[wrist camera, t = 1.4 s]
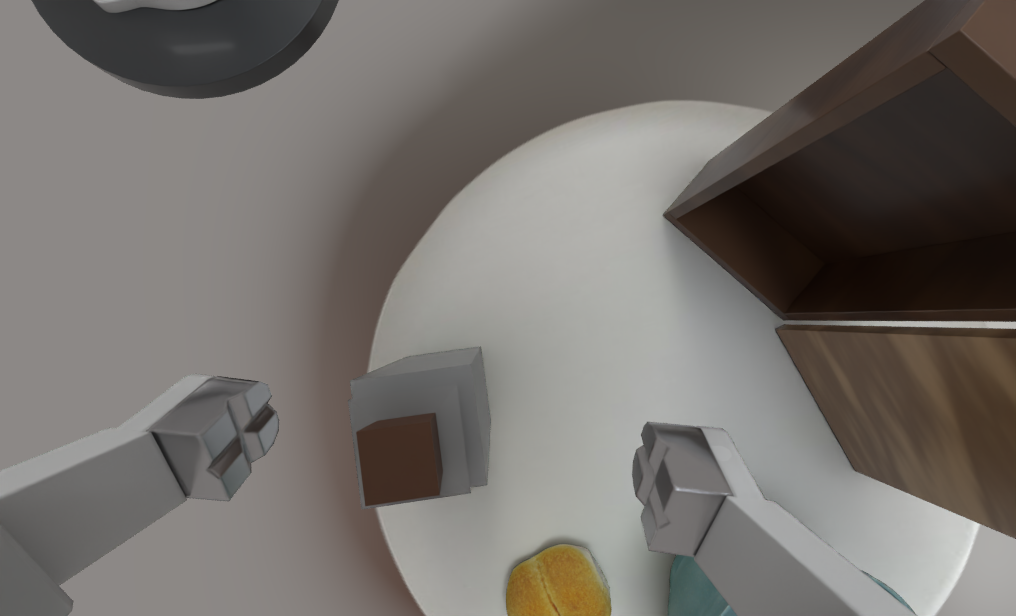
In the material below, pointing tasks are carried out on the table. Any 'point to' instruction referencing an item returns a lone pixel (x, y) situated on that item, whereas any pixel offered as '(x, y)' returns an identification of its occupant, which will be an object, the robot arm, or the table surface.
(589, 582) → the bread roll
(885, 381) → the cupboard door
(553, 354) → the table surface
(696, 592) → the flower pot
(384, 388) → the perfume bottle
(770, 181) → the cupboard
